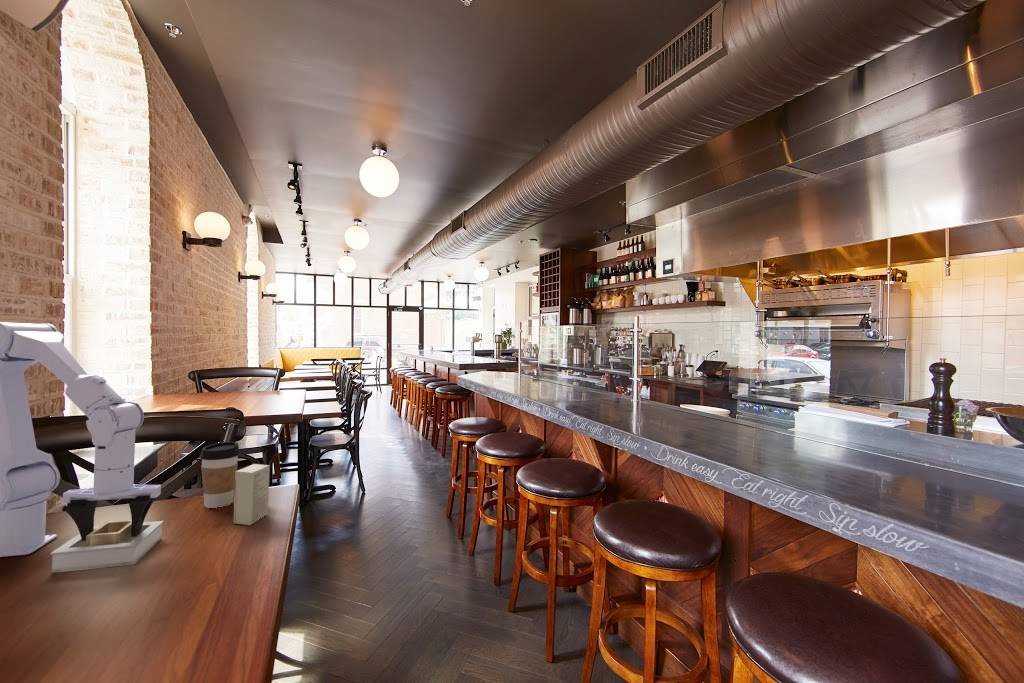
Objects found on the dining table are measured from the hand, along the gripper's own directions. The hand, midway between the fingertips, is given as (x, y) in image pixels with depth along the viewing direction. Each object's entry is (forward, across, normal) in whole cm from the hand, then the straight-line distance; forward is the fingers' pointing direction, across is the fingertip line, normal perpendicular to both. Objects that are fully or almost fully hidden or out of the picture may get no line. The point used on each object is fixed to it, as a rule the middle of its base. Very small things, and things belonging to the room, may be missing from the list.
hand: (112, 536), depth 84 cm
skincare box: (+4, +21, +12) cm, 24 cm away
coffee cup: (+4, +11, +24) cm, 27 cm away
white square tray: (+3, 0, 0) cm, 3 cm away
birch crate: (+3, 0, 0) cm, 3 cm away
